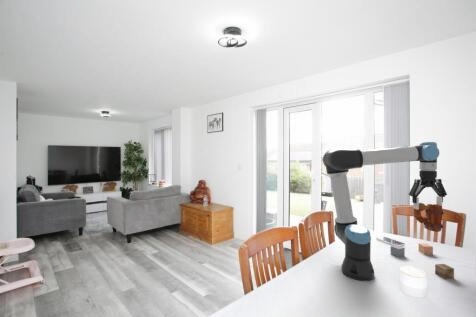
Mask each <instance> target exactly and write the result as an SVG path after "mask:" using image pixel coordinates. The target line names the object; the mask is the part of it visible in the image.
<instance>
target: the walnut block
mask: <svg viewBox="0 0 476 317" xmlns="http://www.w3.org/2000/svg"><path fill="white" fill-rule="evenodd" d="M434 266H435V269H434V273H435V275H437V276H438V277H440V278H442V279H444V280H451V279H452V280H454V279H455V268H454V267H452V266H450V265H448V264H446V263H435V265H434Z"/></svg>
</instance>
